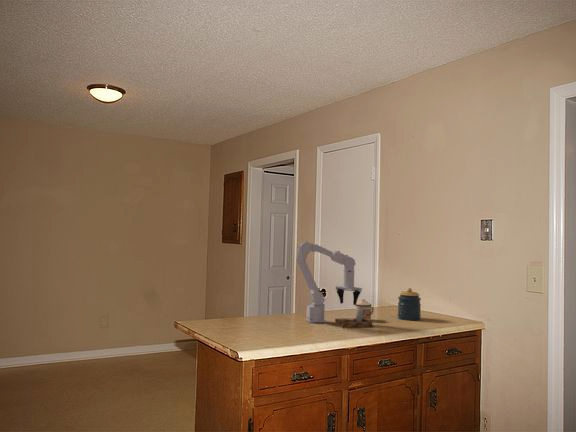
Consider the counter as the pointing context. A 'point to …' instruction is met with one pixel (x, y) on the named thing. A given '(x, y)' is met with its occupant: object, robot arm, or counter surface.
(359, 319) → the peg
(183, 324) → the counter surface
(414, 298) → the canister
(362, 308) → the teacup with lid
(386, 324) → the counter surface
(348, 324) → the groove board
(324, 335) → the counter surface
